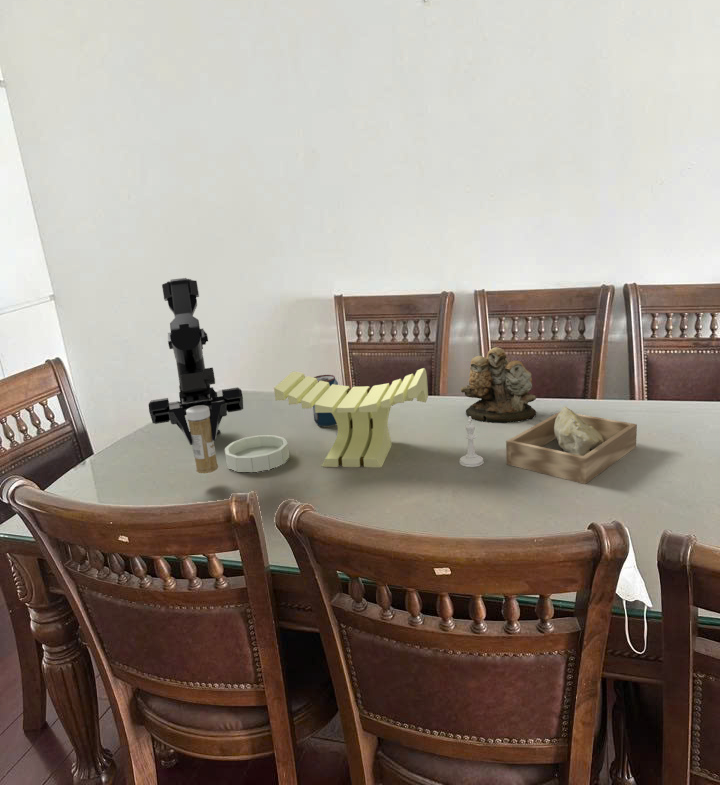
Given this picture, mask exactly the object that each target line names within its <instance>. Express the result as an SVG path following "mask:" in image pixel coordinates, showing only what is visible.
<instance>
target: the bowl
mask: <svg viewBox="0 0 720 785" xmlns="http://www.w3.org/2000/svg"><path fill="white" fill-rule="evenodd" d="M288 445H289V443H288V442H287V440H286V438H285V437H282V436H279V435H275V434H272V435H271V434H259V435H252V436H245V437H243V438H240V439H236V440H235V441H232V442H230V443H229V444H228V445H227V446H226V447H224V454H225V462H226V466H228V467H227V469H228V468H229V469H232V470H234V471H233V472H235V471H237V472H256V471H262V470H268V469H271V468H274V467H276V466H278V465H281V464H283V463H284V462H285V461H286V460H287V459H288V458H289V459H290V452H289V446H288ZM289 459H288V460H289ZM288 460H287V461H288ZM287 461H286V462H287ZM286 462H285V463H286ZM285 463H284V464H285ZM284 464H283V465H284ZM281 466H282V465H281ZM276 468H277V467H276ZM229 469H228V470H229ZM274 469H275V468H274ZM232 470H231V471H232ZM268 471H269V470H268ZM237 472H236V473H237ZM262 472H263V471H262Z"/></svg>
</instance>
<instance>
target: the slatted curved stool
mask: <svg viewBox="0 0 720 785" xmlns="http://www.w3.org/2000/svg"><path fill="white" fill-rule="evenodd" d="M428 387H429V386H428V374H427V370H426V368H425V367H423V368H420V369H417V370H416V372H415V374H414V373H411V374H410V373H409V374H407V375H405V376H404V378H403V379H402V378H399V379H398V378H397V379H395V380H392V382H391V384H390V383H389V382H388V383H383V384H382V383H381V384H375V385H373V386H372V387H370V385H369V386H368V385H366V386H352V388H350V386H349V385H342V384H341V385H340V384H338V385H334V384H332V385H331V386H330V385H329V382H325V381H319V382H318V381H317V378H314V376H309V375H307V376H306V375H305V373H304V372H301V371H292V372H290V373H289V374H288V375H287V376H286V377H285V378H283V380H281V381H280V382H278V383H277V385H275V386H274V387H273V390H274V391H273V392H274V397H275V401H285V400H286V399H287V400H288V405H299V404H301V409H302V410H304V409H306V410H307V409H310V410H311V409H313V406H314V405H315V413H332V414H333V416H334V418H335V420H336V423H337V435H336V438H335V441H334V443H333V445H332V446H331V448H330V451H328V453H327V454H326V456H325V458H324V461H323V463H322V465H321V466H322V468H326V467H327V468H338V467H339V466H342V468H361V466H363V467H364V468H383V465H384V463H385V461H386V458H387V457H388V455H389V452H390V450H391V447H392V438H391V436H390V432H389V426H388V425H389V415H390V412H391V409H392V406H394V405H396V404H404V403H405V402H413V401H414V399H416V401H417V402H420V403H427V400H428V398H429V389H428Z"/></svg>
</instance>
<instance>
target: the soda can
mask: <svg viewBox="0 0 720 785" xmlns="http://www.w3.org/2000/svg"><path fill="white" fill-rule="evenodd" d="M313 378H317V381H318V382H319V381H325V382H329V385H330V386H331V385H332V384H334V385H339V382H338V381H337V379H336V376H335V375H333V374H321V375H316V376H313ZM312 412H313V414H312V415H313V421H314V422H315V424H316V425H317V426H318V425H319V426H318V427H321V426H322V428H328V426H330V427H334V426H336V425H337V423H336V420H335V418H334V416H333V414H332V413H315V405H314V406H313V407H312Z"/></svg>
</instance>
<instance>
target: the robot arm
mask: <svg viewBox="0 0 720 785" xmlns="http://www.w3.org/2000/svg"><path fill="white" fill-rule="evenodd" d="M161 286H162V287H161V288H162V293H163V300H164V301H165V302H166V301H167V305H168V308H169V310H170V311H171V312H172V313H173V316H174V318H173V319H172V321H171V322H170V323H169V326H170V327H169V328H170V332H167V342H168V347H169V350H173V354H174V359H175V361H176V362H175V363H176V368H177V369H176V370H177V374H178V383H179V386H178V388H179V389H178V390H179V392H178V395H179V397H178V398H179V401H178V400H177V401H171V402H170V401H169V398H168V397H163V398H159V399H152V400H150V401H149V402H148V412H149V415H150V419H151V421H152V424H155V425H158V424H162V423H169V422H170V424H171V425H176V426H177V427H178V428H179V429H180V430H181V432H182V434H183V436H184V437H185V439H186V440H187V442H188V444H189V446H192V440H191V435H190V427H189V424H188V423H187V422H188V421H187V417H186V416H187V415H186V410H187V409H188V408H190V407H193V406H198V405H205V406H208V407H209V411H210V423H211V430H212V435H213V441H214V442H216V441H217V440H216V439H217V436H218V434H219V433H221V429H219V427H220V424H221V420H222V419H223V417H227V416H228V413H234V412H238V411H242V410H244V397H243V391H242V389H241V388H239V387H233V388H224V389H221V393H222V394H221V395H222V396H218V392H217V391H215V389H214V387H213V386H211V385H215V384H216V379H215V378H216V377H215V372H214V368H213V367H208V368H206V366H205V359H204V355H203V352H204V351H203V350H204V347H203V346H204V345H206V344H207V342H209V336H208V333H207V332H206V331H205V330H204V328H201V326H200V319H198V318H196V317H195V316H194V313H195V311H196V309H197V307H198V302H197V301H198V300H197V298H199V297H200V292H199V287H198V282H197V280H193V279H192V278H187V277H181V278H175V279H174V278H172V279H170V280H168V281H166V282H164V283H163V284H161Z"/></svg>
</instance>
